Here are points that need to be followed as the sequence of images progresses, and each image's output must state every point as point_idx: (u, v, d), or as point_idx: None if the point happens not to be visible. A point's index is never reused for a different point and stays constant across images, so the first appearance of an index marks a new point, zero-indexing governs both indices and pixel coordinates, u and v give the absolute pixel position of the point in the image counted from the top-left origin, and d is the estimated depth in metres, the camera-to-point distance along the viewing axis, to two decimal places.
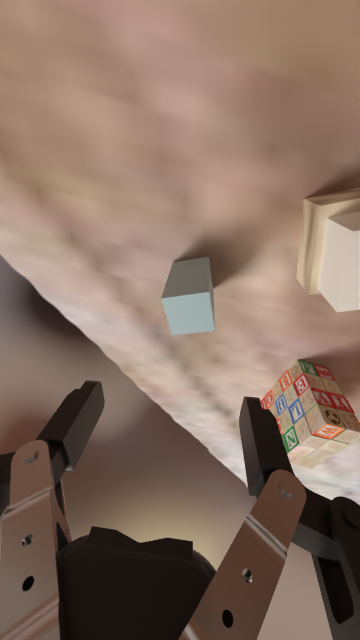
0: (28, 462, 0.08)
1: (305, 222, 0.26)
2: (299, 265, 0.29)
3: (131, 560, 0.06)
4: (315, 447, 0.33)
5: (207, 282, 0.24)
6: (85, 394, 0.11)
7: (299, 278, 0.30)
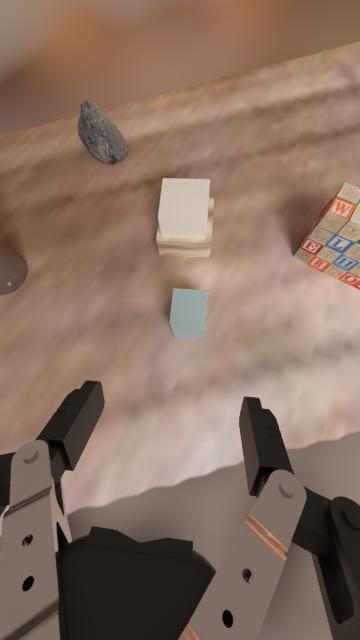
0: (28, 462, 0.08)
1: (170, 251, 0.44)
2: (198, 255, 0.44)
3: (131, 560, 0.06)
4: None
5: None
6: (85, 394, 0.11)
7: (206, 253, 0.44)
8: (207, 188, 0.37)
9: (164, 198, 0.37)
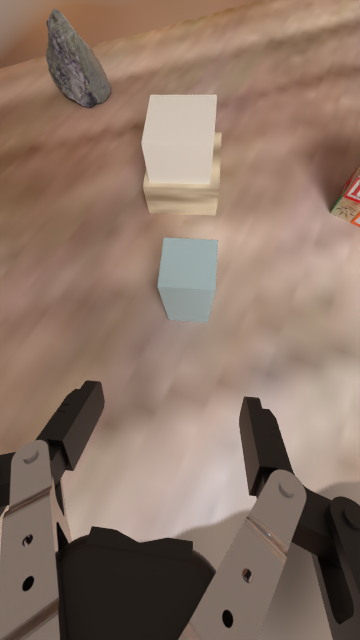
0: (28, 462, 0.08)
1: (163, 207, 0.33)
2: (201, 211, 0.33)
3: (131, 560, 0.06)
4: None
5: None
6: (85, 394, 0.11)
7: (212, 208, 0.32)
8: (213, 106, 0.26)
9: (152, 119, 0.26)
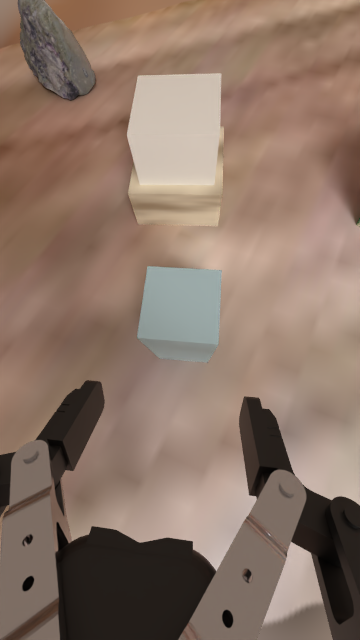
0: (28, 462, 0.08)
1: (154, 217, 0.27)
2: (200, 221, 0.27)
3: (131, 560, 0.06)
4: None
5: None
6: (85, 394, 0.11)
7: (213, 218, 0.27)
8: (217, 87, 0.21)
9: (140, 105, 0.21)
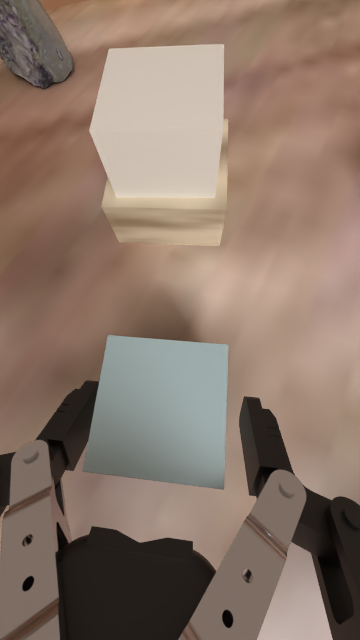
0: (28, 462, 0.08)
1: (138, 235, 0.21)
2: (197, 241, 0.21)
3: (131, 560, 0.06)
4: None
5: None
6: (85, 394, 0.11)
7: (214, 237, 0.21)
8: (218, 62, 0.15)
9: (110, 89, 0.15)
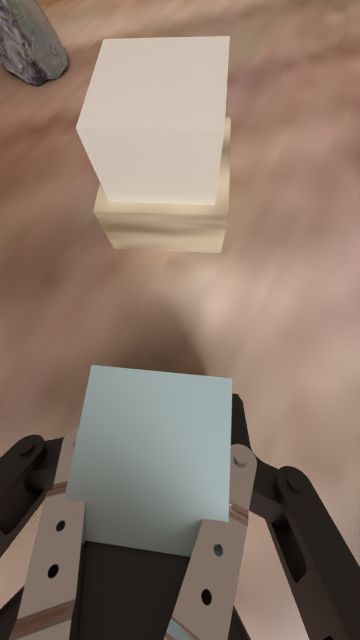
0: None
1: (134, 241, 0.20)
2: (196, 247, 0.20)
3: (131, 560, 0.06)
4: None
5: None
6: None
7: (215, 244, 0.19)
8: (223, 56, 0.13)
9: (102, 83, 0.13)
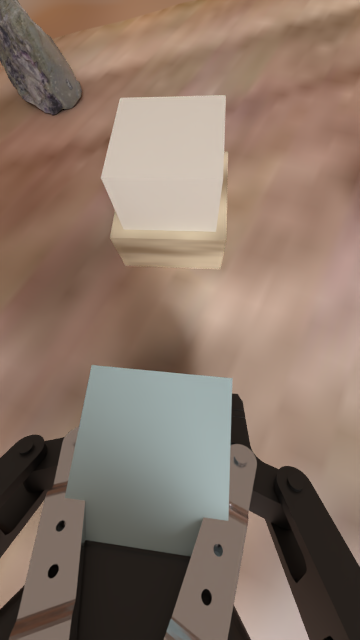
0: None
1: (144, 260, 0.23)
2: (199, 265, 0.23)
3: (131, 560, 0.06)
4: None
5: None
6: None
7: (215, 262, 0.22)
8: (220, 113, 0.16)
9: (120, 137, 0.16)
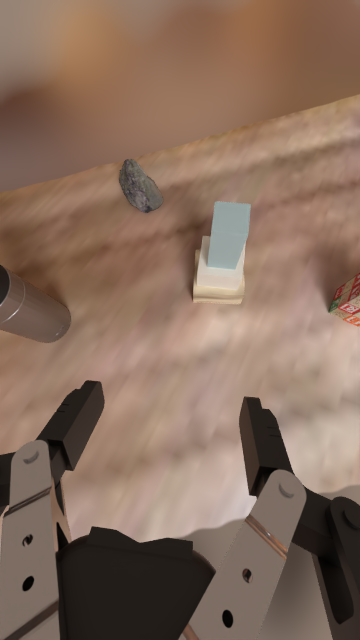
0: (28, 462, 0.08)
1: (204, 300, 0.48)
2: (229, 302, 0.48)
3: (131, 560, 0.06)
4: None
5: None
6: (85, 394, 0.11)
7: (238, 301, 0.47)
8: (243, 248, 0.41)
9: (203, 255, 0.41)
